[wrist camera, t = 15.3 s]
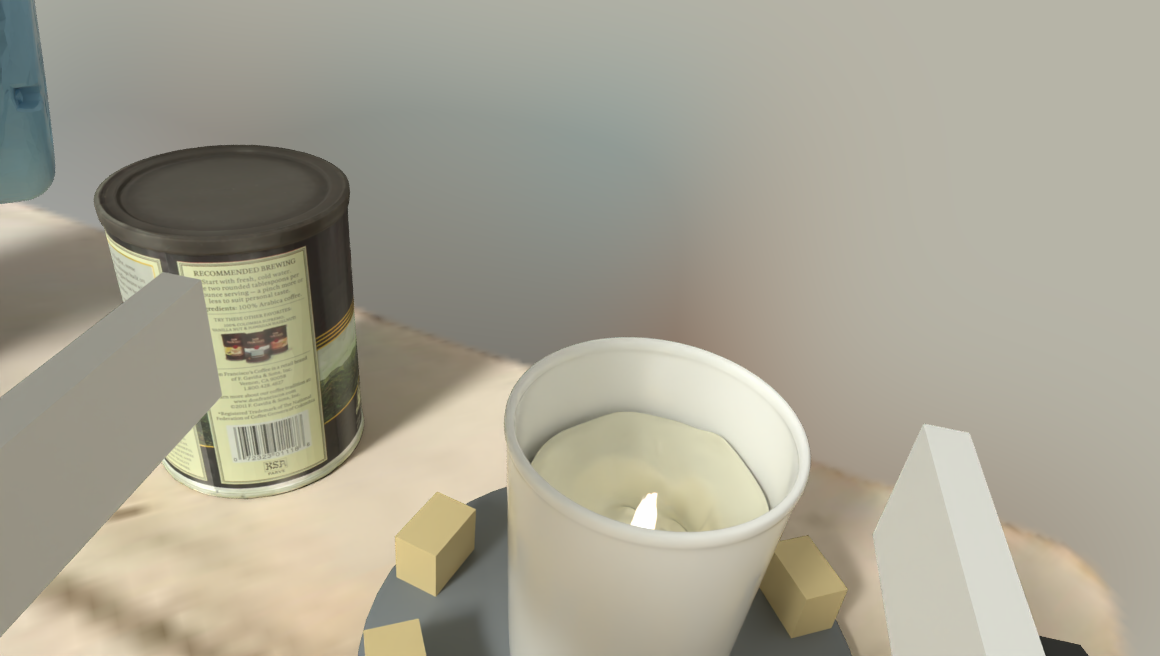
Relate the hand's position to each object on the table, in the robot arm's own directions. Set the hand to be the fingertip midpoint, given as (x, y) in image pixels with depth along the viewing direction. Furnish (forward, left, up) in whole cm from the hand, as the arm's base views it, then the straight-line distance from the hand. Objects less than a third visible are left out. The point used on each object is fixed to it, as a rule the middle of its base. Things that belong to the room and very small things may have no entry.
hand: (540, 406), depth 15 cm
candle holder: (-7, +6, -19) cm, 21 cm away
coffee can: (-25, -7, -20) cm, 33 cm away
